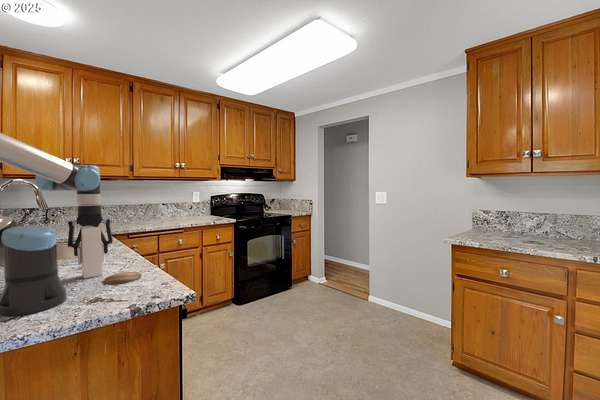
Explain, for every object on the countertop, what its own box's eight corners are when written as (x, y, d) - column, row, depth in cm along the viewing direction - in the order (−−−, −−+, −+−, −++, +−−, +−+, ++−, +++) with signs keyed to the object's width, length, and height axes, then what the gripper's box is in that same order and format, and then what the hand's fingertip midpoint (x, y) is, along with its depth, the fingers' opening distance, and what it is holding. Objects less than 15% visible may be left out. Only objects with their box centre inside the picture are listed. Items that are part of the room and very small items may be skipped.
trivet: (141, 280, 108) (140, 278, 108) (102, 286, 102) (102, 283, 102) (141, 272, 118) (141, 270, 118) (106, 276, 113) (106, 274, 113)
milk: (102, 275, 114) (100, 220, 113) (83, 278, 110) (81, 221, 109) (100, 271, 119) (98, 218, 118) (81, 275, 115) (79, 220, 114)
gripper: (119, 203, 121) (121, 257, 122) (59, 205, 112) (62, 263, 113) (118, 204, 115) (120, 261, 116) (54, 206, 105) (57, 268, 106)
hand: (91, 262), depth 114 cm, fingers closed on milk, 7 cm apart
